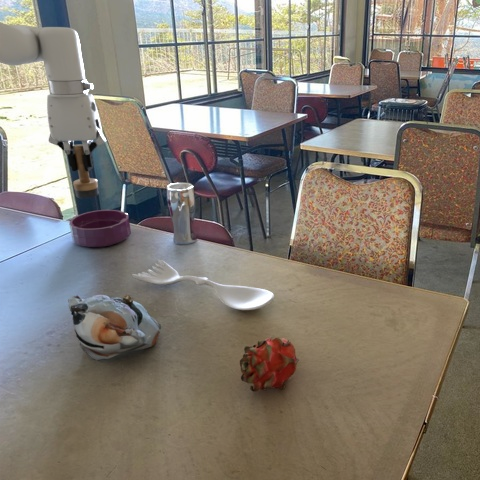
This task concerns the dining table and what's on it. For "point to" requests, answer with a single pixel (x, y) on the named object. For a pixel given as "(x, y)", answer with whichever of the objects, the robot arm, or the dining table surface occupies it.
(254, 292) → the spoon
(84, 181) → the dish brush
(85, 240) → the bowl
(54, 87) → the robot arm
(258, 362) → the dragon fruit
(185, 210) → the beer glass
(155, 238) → the dining table surface
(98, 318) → the lucky cat figurine
